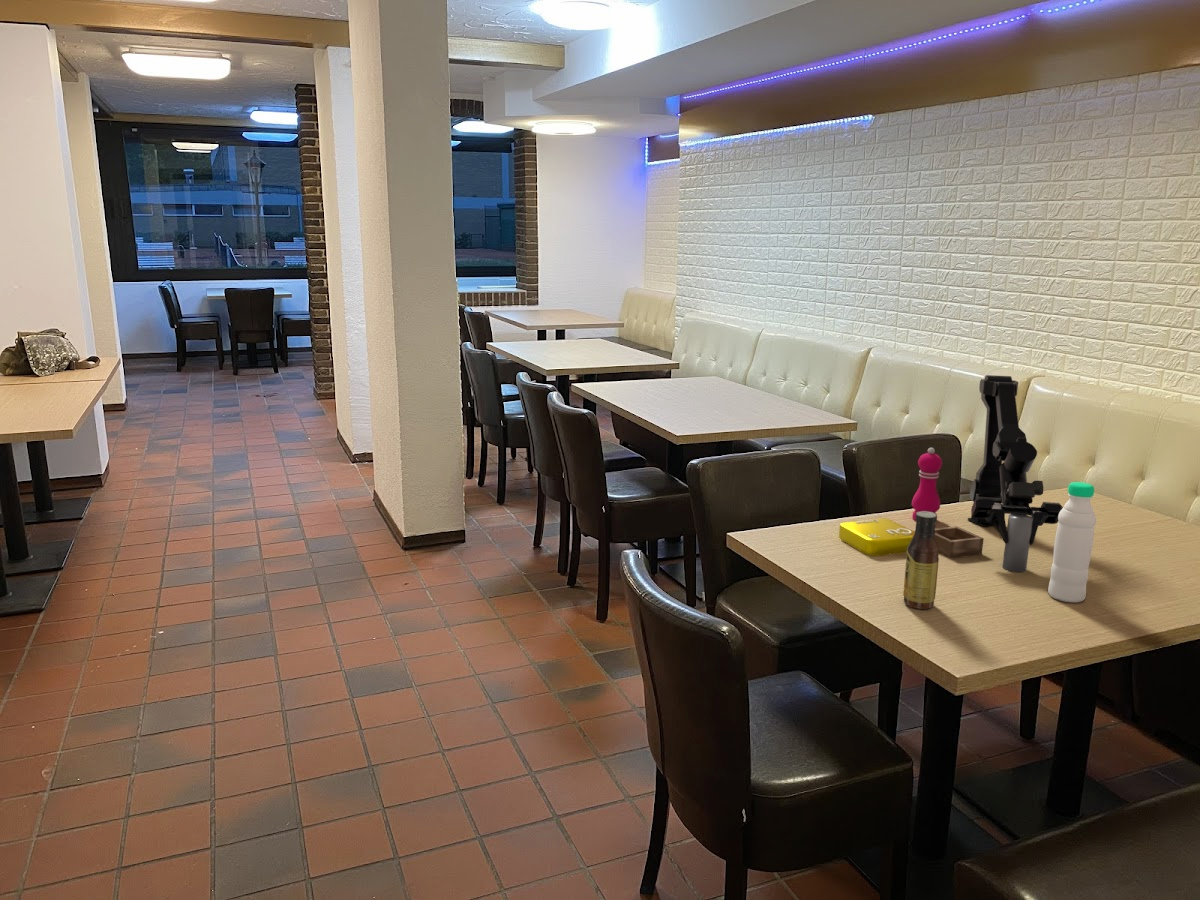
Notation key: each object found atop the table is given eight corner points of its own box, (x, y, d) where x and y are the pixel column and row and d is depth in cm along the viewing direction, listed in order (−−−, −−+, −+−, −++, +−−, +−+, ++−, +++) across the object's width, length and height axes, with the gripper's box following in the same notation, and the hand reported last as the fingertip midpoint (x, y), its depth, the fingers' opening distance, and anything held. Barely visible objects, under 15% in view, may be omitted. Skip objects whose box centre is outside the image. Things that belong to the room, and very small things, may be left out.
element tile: (885, 533, 233) (887, 515, 232) (922, 552, 219) (924, 533, 218) (835, 538, 228) (836, 520, 227) (870, 558, 214) (871, 539, 213)
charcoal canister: (1014, 563, 211) (1021, 512, 208) (1031, 571, 206) (1037, 519, 203) (997, 566, 209) (1003, 514, 206) (1013, 573, 204) (1020, 521, 201)
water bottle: (1083, 606, 186) (1100, 490, 181) (1045, 599, 190) (1061, 485, 184) (1086, 595, 192) (1102, 482, 186) (1049, 588, 196) (1064, 477, 190)
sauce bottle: (909, 596, 191) (917, 506, 186) (938, 604, 187) (948, 512, 182) (897, 605, 186) (905, 513, 181) (927, 613, 182) (936, 520, 177)
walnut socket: (954, 541, 226) (956, 526, 225) (981, 554, 217) (983, 538, 216) (923, 545, 223) (924, 529, 222) (949, 558, 214) (951, 542, 213)
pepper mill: (934, 516, 246) (941, 445, 241) (941, 524, 239) (949, 451, 234) (907, 515, 247) (914, 444, 242) (913, 523, 240) (920, 450, 235)
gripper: (979, 464, 208) (982, 524, 200) (1066, 469, 204) (1073, 530, 196) (969, 487, 217) (972, 546, 209) (1052, 493, 213) (1059, 552, 205)
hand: (1018, 543), depth 205 cm, fingers closed on charcoal canister, 5 cm apart
